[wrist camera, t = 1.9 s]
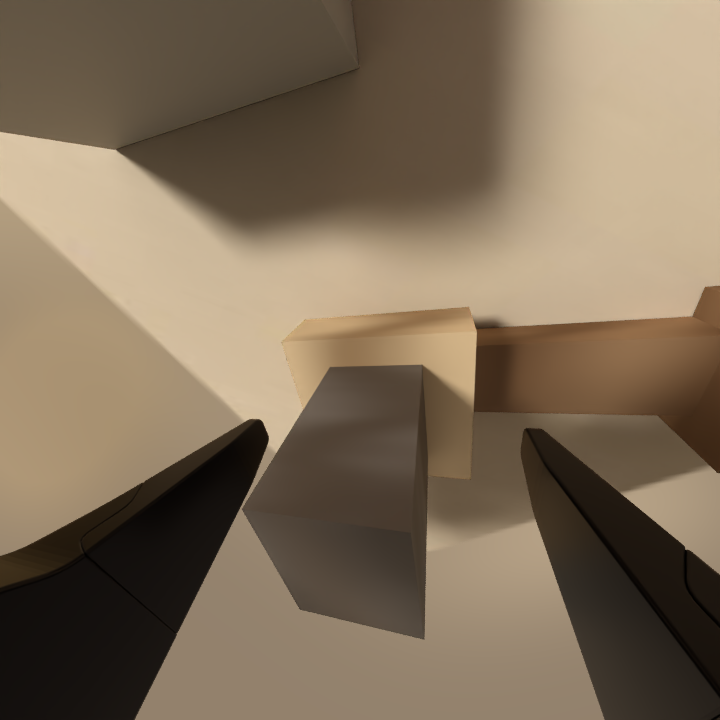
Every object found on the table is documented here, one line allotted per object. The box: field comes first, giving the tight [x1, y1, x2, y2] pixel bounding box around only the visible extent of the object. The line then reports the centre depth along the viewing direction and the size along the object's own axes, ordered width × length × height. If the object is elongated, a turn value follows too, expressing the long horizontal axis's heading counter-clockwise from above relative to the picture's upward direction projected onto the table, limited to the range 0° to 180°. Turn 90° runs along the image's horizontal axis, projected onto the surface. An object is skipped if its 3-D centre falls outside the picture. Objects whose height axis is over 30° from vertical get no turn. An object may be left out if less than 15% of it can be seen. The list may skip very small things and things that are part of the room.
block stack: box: [242, 307, 477, 639], centre depth 8 cm, size 6×6×7 cm
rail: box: [474, 286, 720, 473], centre depth 10 cm, size 16×5×3 cm, turn 100°
